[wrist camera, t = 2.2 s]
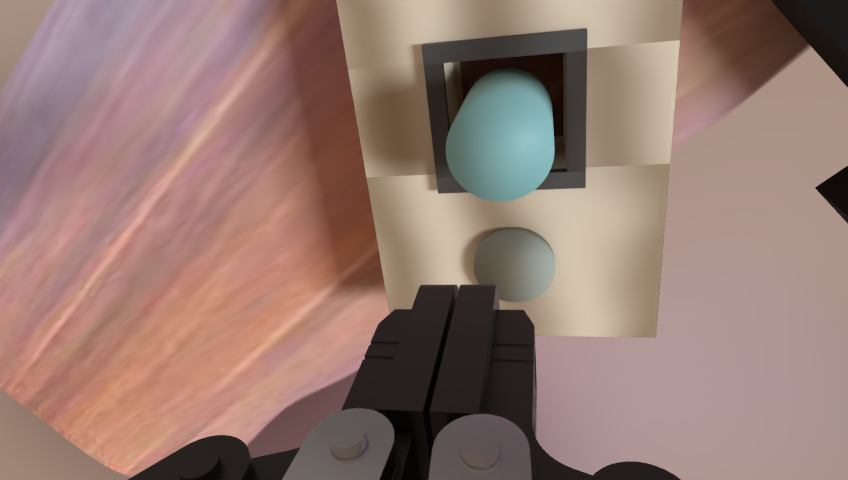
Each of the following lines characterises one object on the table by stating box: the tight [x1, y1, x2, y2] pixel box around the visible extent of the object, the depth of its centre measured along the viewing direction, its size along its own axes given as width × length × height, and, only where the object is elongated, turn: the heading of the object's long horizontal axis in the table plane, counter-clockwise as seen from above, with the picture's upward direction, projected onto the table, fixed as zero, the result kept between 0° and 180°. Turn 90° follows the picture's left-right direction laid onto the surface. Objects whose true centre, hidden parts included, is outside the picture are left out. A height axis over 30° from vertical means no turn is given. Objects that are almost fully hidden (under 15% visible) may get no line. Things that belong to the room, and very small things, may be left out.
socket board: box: [336, 0, 683, 338], centre depth 29 cm, size 14×18×6 cm
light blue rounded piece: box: [446, 68, 555, 202], centre depth 23 cm, size 4×4×6 cm
